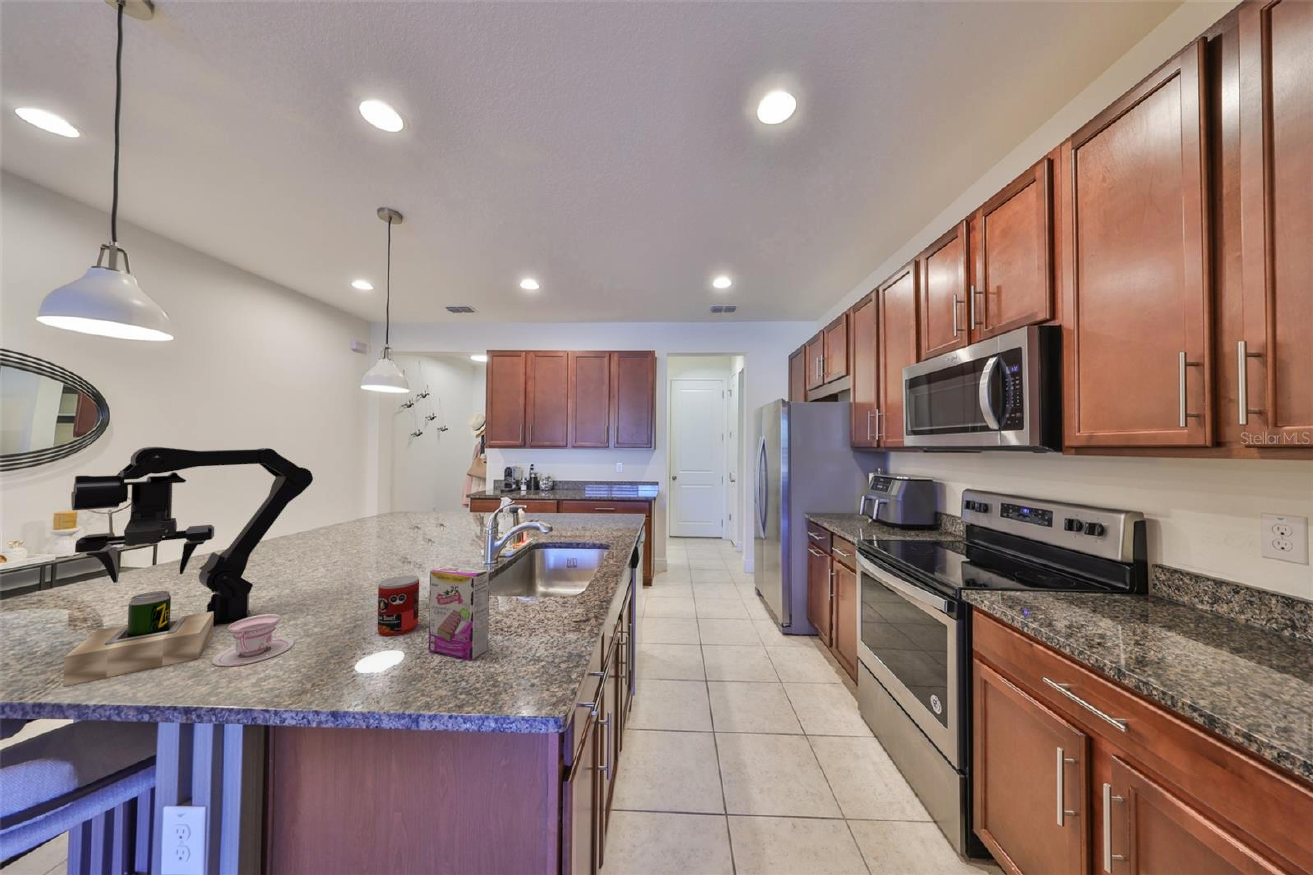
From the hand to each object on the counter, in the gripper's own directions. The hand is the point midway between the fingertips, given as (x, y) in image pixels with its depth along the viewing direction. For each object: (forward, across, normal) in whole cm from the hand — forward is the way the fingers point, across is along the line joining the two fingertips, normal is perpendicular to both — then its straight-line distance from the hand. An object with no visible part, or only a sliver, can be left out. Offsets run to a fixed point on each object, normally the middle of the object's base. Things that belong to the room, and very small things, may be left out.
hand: (149, 578), depth 92 cm
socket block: (+13, +2, -12) cm, 18 cm away
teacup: (+13, +18, -23) cm, 32 cm away
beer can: (+13, +2, -12) cm, 18 cm away
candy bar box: (+13, +48, -49) cm, 70 cm away
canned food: (+13, +42, -29) cm, 52 cm away
